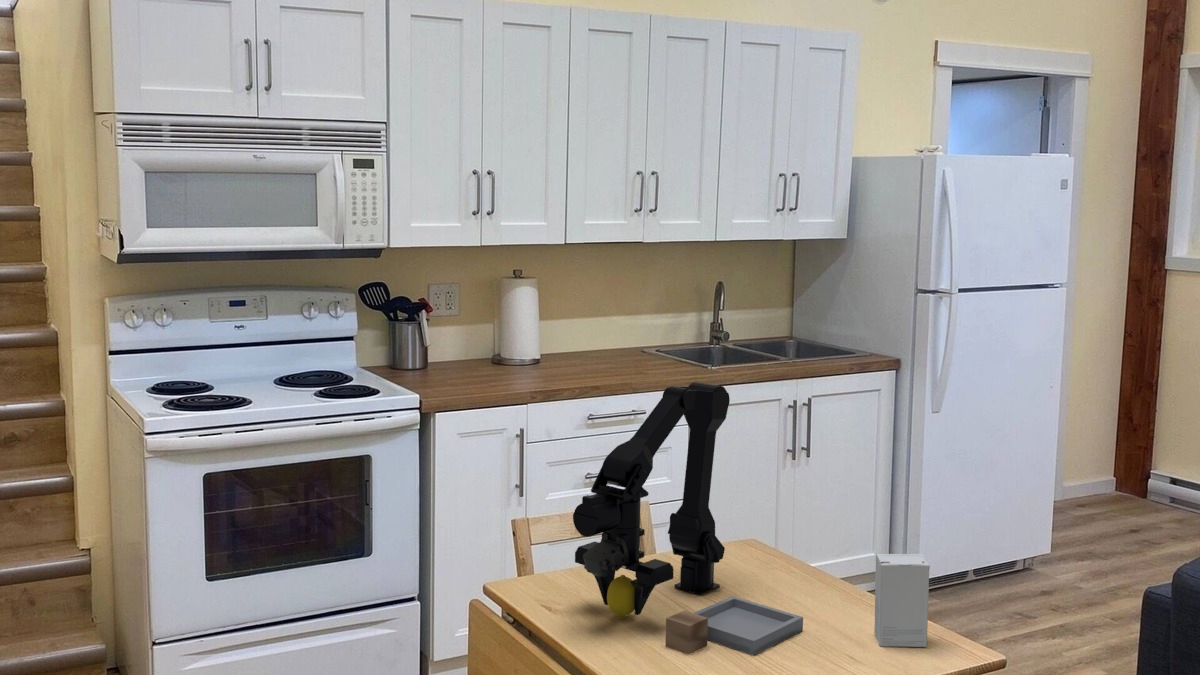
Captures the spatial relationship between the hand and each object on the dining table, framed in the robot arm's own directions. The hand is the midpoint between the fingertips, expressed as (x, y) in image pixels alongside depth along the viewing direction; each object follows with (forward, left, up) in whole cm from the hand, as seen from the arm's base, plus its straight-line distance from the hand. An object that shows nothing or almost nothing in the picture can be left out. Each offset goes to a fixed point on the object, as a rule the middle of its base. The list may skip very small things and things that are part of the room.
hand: (622, 609), depth 211 cm
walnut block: (+2, +16, -2) cm, 16 cm away
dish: (-10, +19, -2) cm, 22 cm away
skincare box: (-25, +41, -2) cm, 48 cm away
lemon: (0, 0, -2) cm, 2 cm away
